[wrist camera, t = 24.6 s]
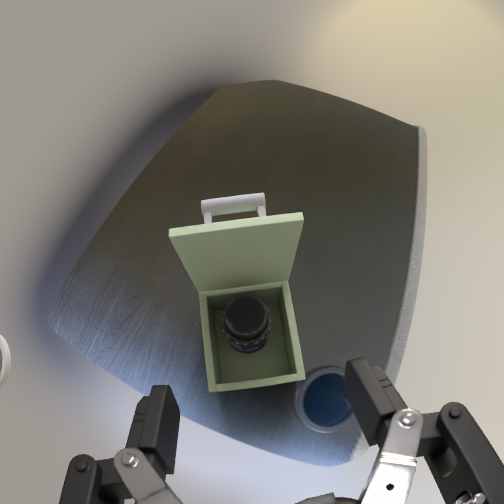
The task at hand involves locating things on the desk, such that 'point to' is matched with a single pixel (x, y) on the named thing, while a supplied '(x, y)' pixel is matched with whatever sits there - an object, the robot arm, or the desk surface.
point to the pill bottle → (246, 323)
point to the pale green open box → (262, 361)
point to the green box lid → (238, 245)
